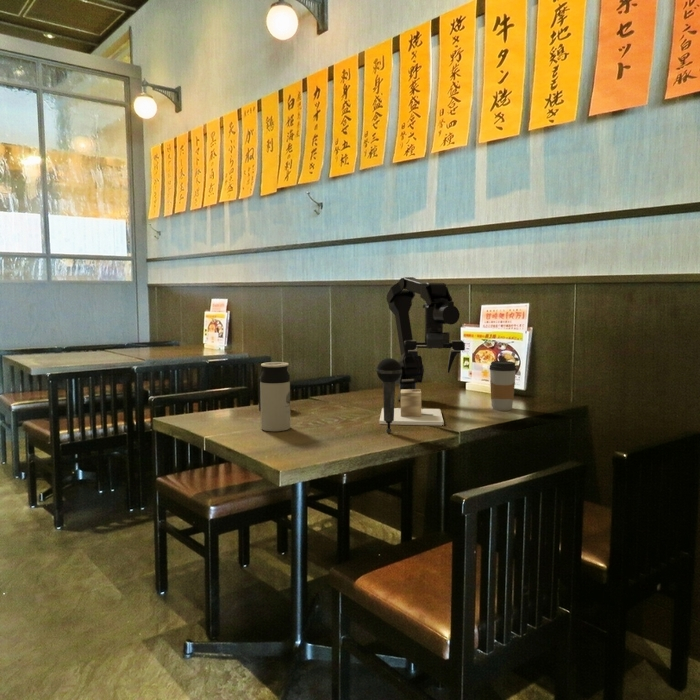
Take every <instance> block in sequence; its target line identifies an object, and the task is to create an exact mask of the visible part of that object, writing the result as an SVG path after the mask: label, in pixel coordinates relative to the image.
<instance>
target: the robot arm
mask: <svg viewBox="0 0 700 700" xmlns="http://www.w3.org/2000/svg"><path fill="white" fill-rule="evenodd" d="M416 294H418V295H420V299H422V300H423V301H425V303H424V304H423V305H422V309H424V342H422V341H419V342H417V339H414V337H413V332H412V325H411V320H410V319H411V318H410V311H411V308H412V305H413V299H414V298H415V296H416ZM386 302H387V304H388V309H389V310H390V311H391V313H392V314H393V315H394V318H395V325H396V331H397V336H398V337H397V338H398V344H399V351H400V356H399V359H398V360H397V361H398V362H399V364H400V366H401V369H402V373H401V376H400V378H399V379H398V380H397V381H395V384H398V385H399V388H398V389H399V391H398V392H399V396H398V398H397V401H398V402H401V389H417V384H419V383H420V384H421V383H422V382H423V377H424V373H425V370H424V365H423V358H422V356H421V355H419V352H418V349H430V350H432V349H439V350H441V349H449V353H448V362H447V374H450V372H451V368H452V365H453V362H454V360H455V359H456V356H457V354H461V351H462V352H463V351H466V343H465V342H464V341H463V340H462V339H461V340H459V339H458V340H457V339H451V340H450V335H451V333H450V332H447V331H444V325H455V324H456V323H457V322H458V321H459V319H460V311H459V309H458V308H457V306H455V303H454V301H453V297H452V296H451V294H450V290H449V289H448V287H447V284H446V283H445V282H429V281H428V282H427V281H424V280H420V279H418V278H415V277H413V276H412V277H410V276H403V277H401V278H400V279H399V281H398V282H397V283H395V284H394V285H392V286H390V288H389V290H388V292H387V294H386Z"/></svg>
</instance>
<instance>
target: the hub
mask: <svg viewBox="0 0 700 700" xmlns="http://www.w3.org/2000/svg"><path fill="white" fill-rule="evenodd" d="M378 424H379V425H388V423H386V421H384V407H381V411H380V416H379V423H378ZM390 425H395V426H396V425H398V426H400V425H401V426H403V425H404V426H405V425H406V426H442V425H443V426H444V425H445V424H444V419H443V415H442V411H441V408H421V417H413V416H401V407H396V408H395V407H394V421H392V423H390Z"/></svg>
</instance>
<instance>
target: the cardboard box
mask: <svg viewBox="0 0 700 700" xmlns="http://www.w3.org/2000/svg"><path fill="white" fill-rule="evenodd" d="M400 408H401V416H413V417H421V409H422V389H418V388H416V389H401V401H400Z"/></svg>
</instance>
